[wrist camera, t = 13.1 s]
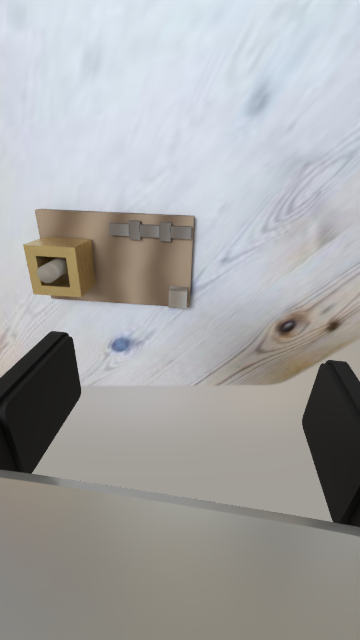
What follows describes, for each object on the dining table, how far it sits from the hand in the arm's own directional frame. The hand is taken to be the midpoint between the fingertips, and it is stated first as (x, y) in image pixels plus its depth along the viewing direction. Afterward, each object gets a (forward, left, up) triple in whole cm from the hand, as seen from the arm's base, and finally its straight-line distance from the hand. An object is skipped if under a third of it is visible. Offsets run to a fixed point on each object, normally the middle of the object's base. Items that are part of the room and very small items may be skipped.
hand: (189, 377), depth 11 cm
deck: (+11, +3, -29) cm, 31 cm away
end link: (+17, +4, -27) cm, 32 cm away
